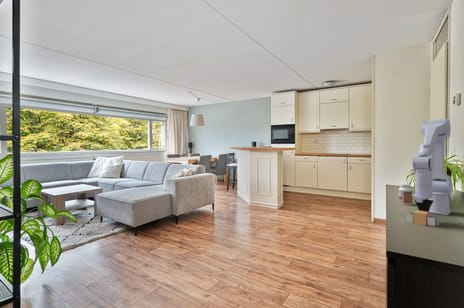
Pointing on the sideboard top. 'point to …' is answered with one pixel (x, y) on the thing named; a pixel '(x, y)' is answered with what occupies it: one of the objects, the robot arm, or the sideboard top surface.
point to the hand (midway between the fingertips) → (424, 217)
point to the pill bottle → (405, 194)
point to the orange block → (420, 217)
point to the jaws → (430, 220)
